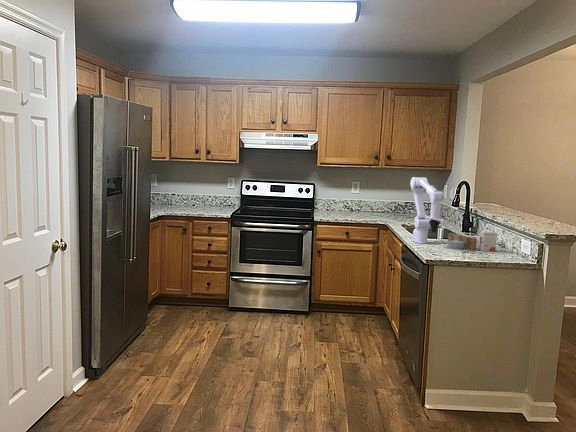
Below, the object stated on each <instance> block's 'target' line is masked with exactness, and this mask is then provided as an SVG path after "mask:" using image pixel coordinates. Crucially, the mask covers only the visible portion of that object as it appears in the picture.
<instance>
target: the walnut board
mask: <svg viewBox="0 0 576 432" xmlns="http://www.w3.org/2000/svg"><path fill="white" fill-rule="evenodd" d="M454 240H457V241H461V242H465V246H464V248H463V249H466V248H467V250H471V251H476V250H477V242H478V241H477V238H476V237H470V236H466V235H463V234H462V235H461V234H457V233H453V232H449V233H448V236H447V241H454Z"/></svg>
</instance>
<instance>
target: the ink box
mask: <svg viewBox="0 0 576 432" xmlns="http://www.w3.org/2000/svg"><path fill="white" fill-rule="evenodd" d="M497 236H498V233H497V232H495V231H485V230H484V231H483V230H482V231H480V235H479V245H478V250H479V251H481V252H496V248H497Z"/></svg>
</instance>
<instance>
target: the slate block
mask: <svg viewBox="0 0 576 432" xmlns="http://www.w3.org/2000/svg"><path fill="white" fill-rule="evenodd" d="M464 246H465V242H461V241H457V240H454V241H448V240H447V241H446V248H450V249H453V248H454V250H459V248H460V249H465V248H464Z"/></svg>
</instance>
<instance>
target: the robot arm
mask: <svg viewBox="0 0 576 432" xmlns="http://www.w3.org/2000/svg"><path fill="white" fill-rule="evenodd" d="M409 185H410V188H411V191H412V195H413V198H414V204H415V209H416V213H417V214H416V216H415V217H414V219H413V220H414V227H415V228H414V229H413V231H412V239H411V242H415V243H418V244H430V243H431V241H428V236H429V230H430V229H431V233H436V232H437V230H438V227H439V225H440V224H441V223H442V224H443V223H446V220H445V218H441V207H442V206H441V205H442V201H444V192H443V191H438V189H436V187H435V185H430V183H429V182H428V178H426V177H425V176H424V177H421V176H420V177H416V176H413V177H411V179H410V183H409ZM424 191H425V193H426V194H427V195H428V196H429V198H430V215H428V214H426V211H425V205H424V199H423V195H422V192H424Z"/></svg>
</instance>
